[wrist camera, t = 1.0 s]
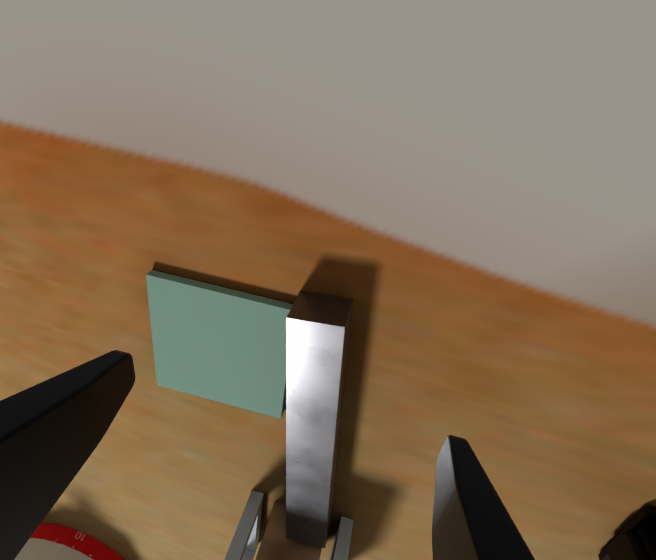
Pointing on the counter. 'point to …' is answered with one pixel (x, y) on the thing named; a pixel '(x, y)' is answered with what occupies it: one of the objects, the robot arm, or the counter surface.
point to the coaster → (219, 342)
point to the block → (283, 540)
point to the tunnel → (249, 528)
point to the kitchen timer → (64, 545)
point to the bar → (314, 410)
